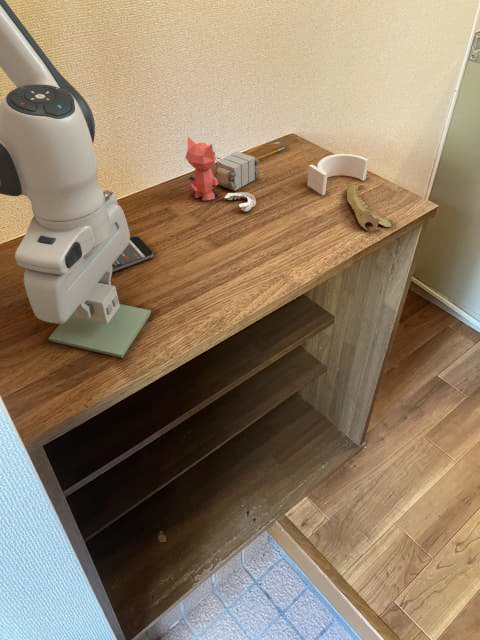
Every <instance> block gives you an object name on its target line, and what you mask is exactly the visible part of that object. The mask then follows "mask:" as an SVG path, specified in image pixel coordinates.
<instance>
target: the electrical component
mask: <svg viewBox="0 0 480 640" xmlns="http://www.w3.org/2000/svg"><path fill="white" fill-rule="evenodd" d="M278 144H279V145H280V144H282V143H281V141H279V142H273V143H268V144H261V145H259V146H256V147H253V148H251V149H250V150H248V151H247V152H245V153H243V152H240V151H235V152H233V153H231V154H229V155H226V156H225V157H223V158H221V159H222V160H221V159H219V160H217V161H218V162H217V161H215V165H216V166H215V167H216V168H215V173H216V174H215V175H216V179H217V180H218V185H219V186H221V187H224V188H226V189H229V190H232V191H234V192H235V191H237V190H240V189H241V188H243V187H244V186H246V185H248V184H249V183H251V182H253V181H255V180H256V176H259V175H260V170H259V168H258V167H257V166H258V165H259V164H260V163H261V161H260V159H263V158H265V157H267V156H270V155H272V154H274V153H277V152H280V151H282V150H284V149H286V148H285V147H281V148H278V149H276V150H273V151H270V152H267V153H266V154H264V155H261V156H258V157H255V156H252V155H250V154H249V153H252V152H253V151H255V150H259V149H261V148H265V147H269V146H274V145H278ZM219 162H220V163H221V164H220V163H219ZM218 185H217V186H218Z"/></svg>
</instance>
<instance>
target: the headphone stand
mask: <svg viewBox="0 0 480 640" xmlns="http://www.w3.org/2000/svg"><path fill="white" fill-rule="evenodd" d="M369 162H370V159H368V158H366V157H364V156H360V155H358V154H351V153H336V154H331V155H327V156H325V157H322V158H321V159H320V160H319V161H318V163H317V166H316V165H314V164H309V165H308V172H307V183H306V186H308V187H309V188H310V189H313V191H315V192H316V193H317V194H319V195H321V196H325V195H326V192H327V183H328V178H330V177H337V176H346V177H347V176H348V177H352V178H356V179H359V180H361V181H366V178H367V174H368V167H369Z"/></svg>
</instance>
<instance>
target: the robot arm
mask: <svg viewBox="0 0 480 640" xmlns="http://www.w3.org/2000/svg"><path fill="white" fill-rule="evenodd" d="M0 68H1V70H2V71H3V72H4V73H5V75H6V76H7V77H8V78H9V79H10V81H11V82H12V83H13V84H14V86H15V87H16V88H14V89H13V90H10V91H9V92H8V93H7V94H6V95H5V97H4V98H3V99H2V101H1V102H0V195H4V196H8V197H9V196H10V197H20V196H25V197H26V198H27V199H29V201H30V204H31V211H32V214H33V216H32V218H31V219H30V222H29V225H28V228H27V230H26V232H25V234H24V236H23V238H22V240H21V242H20V243H19V245H18V247H17V248H16V250H15V253H14V259H15V262H16V264H17V265H18V267H22V268H23V269H24V273H23V284H24V289H25V292H26V296H27V298H28V301H29V304H30V307H31V309H32V311H33V315H34V316H35V317H36V318H37V319H38V320H41V321H43V322H45V323H49V324H55V325H60V324H64V323H65V322H66V321H67V320H68V318H69V317H70V316H71V315H72V314H73V312H74V311H75V310H77V313H78V316H79V317H80V318H83V319H90V317H91V316H92V314H93V313H94V310H93V306H92V304H88V303H87V304H86V303H84V302H86V296H87V295H88V294H89V293H90V291H91V290H92V289H93V288H94V286H95V285H96V284H97V283H102V284H107V285H112V283H111V281H112V275H113V272H112V269H113V268H112V264H113V263H114V262H115V261H116V259H117V258H118V257H119V256H120V254H121V253H122V252H123V251H124V250H125V248H126V247H127V246H128V245H129V241H130V237H131V232H130V228H129V225H128V221H127V218H126V215H125V212H124V210H123V208H122V207H121V205H119V202H118V198H117V194H116V193H114V192H113V191H112V190H104V191H103V189H102V187H101V186H100V184H99V180H98V170H99V169H98V161H97V156H96V150H95V147H94V142H95V138H96V137H95V136H96V123H95V117H94V114H93V111H92V109H91V107H90V105H89V103H88V102H87V101H86V99H85V98H84V97H83V96H82V94H81V93H80V92H79V91H78V90H77V89H76V88H75V87H74V86H73V85H72V84H71V83H70V82H69V81H68V80H67V79H66V78H65V77H64V76H63V75H62V73H60V72H59V70H58V69H57V68H56V66H54V64H53V63H52V61H51V60H50V59H49V57H48V56H47V54H45V52H44V51H43V49H42V48H41V46H40V45H39V44H38V42H37V41H36V40H35V39H34V37H33V36H32V35H31V33H30V32H29V31H28V29H27V28H26V26H24V24H23V23H22V21H21V20H20V19H19V17H18V16H17V14H16V13H15V12H14V10H13V9H12V8H11V6H10V5H9V4H8V2H7V1H6V0H0Z"/></svg>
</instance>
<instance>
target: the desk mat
mask: <svg viewBox="0 0 480 640" xmlns="http://www.w3.org/2000/svg"><path fill="white" fill-rule="evenodd" d="M119 304H120V307H119V309H118V310H117V311H116V313H115V314H114V316H113V317H112V318H111V320H110V321H109V322H108V324H105V323H101V322H96V321H92V320H87V319H82V318H78V317H77V315H76V312H75V311H74V312H73V314H72V315H71V316H70V317H69V318H68V320H67V321H66V322H65V323H64V324H58V326H57V327H56V328H55V330H53V332H52V333H50V336H49V337H48V341H49V342H53V343H57V344H61V345H66V346H69V347H74V348H77V349H78V348H79V349H82V350H86V351H91V352H95V353H100V354H103V355H108V356H111V357H112V356H113V357H117V358H121V359H123V358H124V357H125V354H126V353H127V351H128V350H129V348H130V347H131V345H132V344H133V342H134V341H135V340H136V338H137V336H138V335H139V333H140V331H141V330H142V328H143V327H144V325H145V324H146V322H147V321H148V319H149V318H150V316H151V315H152V310H151V309H146V308H141V307H137V306H132V305H128V304H127V305H126V304H122V303H119Z"/></svg>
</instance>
